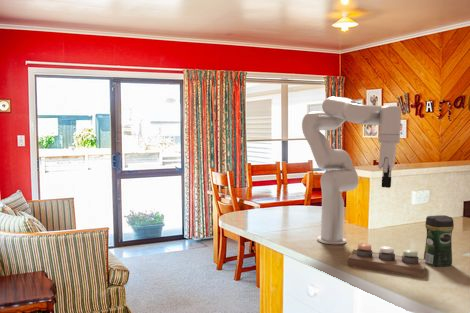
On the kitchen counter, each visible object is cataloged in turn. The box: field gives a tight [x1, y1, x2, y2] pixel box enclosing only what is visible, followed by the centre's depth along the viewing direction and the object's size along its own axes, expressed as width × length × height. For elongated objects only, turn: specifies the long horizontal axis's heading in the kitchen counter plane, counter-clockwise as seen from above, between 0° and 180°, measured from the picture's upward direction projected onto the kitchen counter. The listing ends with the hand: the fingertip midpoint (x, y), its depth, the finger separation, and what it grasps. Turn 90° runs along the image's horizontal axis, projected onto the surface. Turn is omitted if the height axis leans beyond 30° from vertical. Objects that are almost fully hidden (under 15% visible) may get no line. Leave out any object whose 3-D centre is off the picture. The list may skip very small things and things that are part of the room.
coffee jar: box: [423, 214, 455, 267], centre depth 167 cm, size 10×8×19 cm
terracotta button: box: [357, 243, 372, 250], centre depth 166 cm, size 5×5×1 cm
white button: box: [379, 245, 395, 254], centre depth 163 cm, size 5×5×1 cm
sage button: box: [402, 248, 419, 257], centre depth 160 cm, size 5×5×1 cm
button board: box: [347, 247, 426, 278], centre depth 163 cm, size 12×26×5 cm, turn 65°
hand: (386, 187), depth 168 cm, fingers closed
